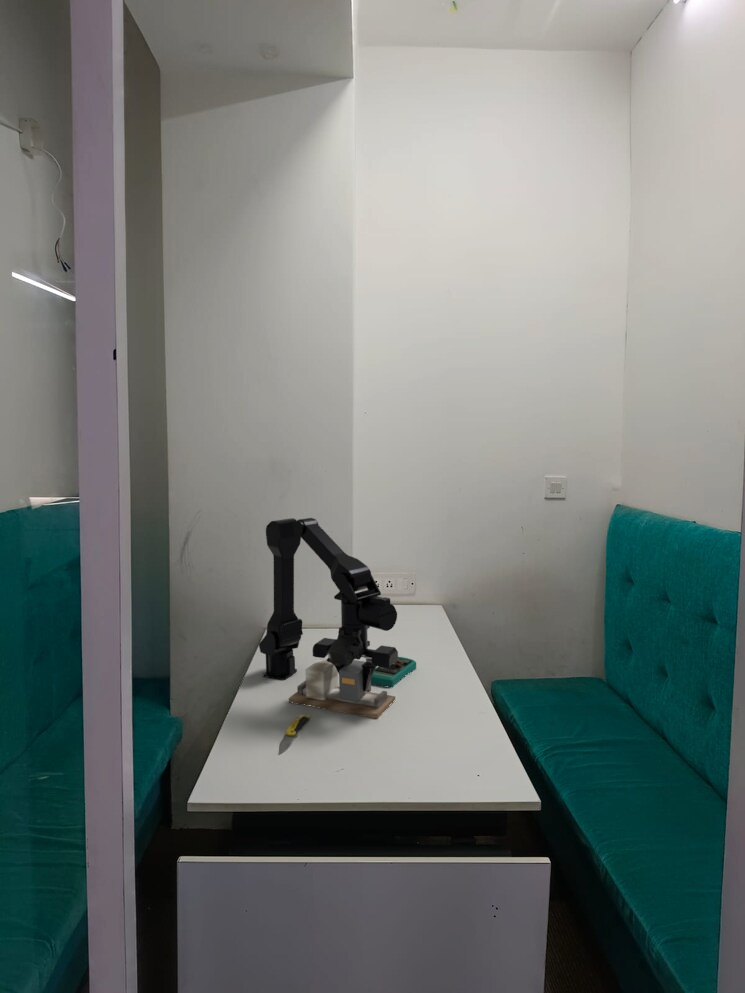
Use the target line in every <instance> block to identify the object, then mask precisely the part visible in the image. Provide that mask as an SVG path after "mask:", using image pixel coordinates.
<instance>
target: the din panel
mask: <svg viewBox="0 0 745 993" xmlns="http://www.w3.org/2000/svg"><path fill="white" fill-rule="evenodd" d="M296 690H297V691H296V692H295V693H294V694H292V695H291V696H289V697H288V703H289V702H293V703H292V704H294V703H298V704H297V705H300V704H305V705H311V706H315V707H314V708H316V707H320V708H319V709H322V708H325V709H324V710H327V709H329V710H330V711H333V710H334V711H333V712H338V711H339V713H344V712H345V714H349V713H350V715H355V714H357V715H356V716H361V717H366V718H371V717H372V718H373V719H377V720H378V719H379V718H380V717H381V716H382V715H383V714H384V713H385V712H386V711H387V710H386V709H387V708H390V706H391V705H392V704H393V703H394V702H395V701H396V696H395V695H390V694H388V691H386V690H382V691H381V692H380V693H377V692H373V691H372V692H371V691H370V692H365V693H364V694H363V695H362V696H361V697H360V701H359V702H353V701H347V700H341V699H340V695H339V673H338V671H337V669H336V667H335V666H334V665H333V664H332V663H330V662H328V661H327V659H325V658H320V659H318V660H316V661H315V662H313V664H311V665H310V666H308V667H306V668H305V680H304V681H303V682H301V683H300V684H299V685H297V689H296ZM394 700H395V701H394ZM393 701H394V702H393ZM392 702H393V703H392ZM391 703H392V704H391ZM390 704H391V705H390ZM305 705H304V706H305ZM389 705H390V706H389ZM311 706H310V707H311ZM329 710H328V711H329ZM385 710H386V711H385ZM384 711H385V712H384ZM383 712H384V713H383ZM382 713H383V714H382ZM372 718H371V719H372Z"/></svg>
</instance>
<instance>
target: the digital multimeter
mask: <svg viewBox="0 0 745 993" xmlns="http://www.w3.org/2000/svg"><path fill="white" fill-rule="evenodd" d="M416 669H417V661H415V660H414V659H412V658H408V657H404V656H398V660H396V661H395V662H394V663H393V664H392V665H391V666H390V667H380V666H377V667H376V669H375V671H374V673H373V675H372V678H371V685H374V684H376V685H375V686H379V685H382V686H381V687H384V686H388V687H387V688H391V687H392V688H393V687H395V686H396V685H397V684H398V683H399V682H400V681H401V680H400V679H402V678H403V677H404V676H405V675H407V674H408V673H409V674H411V673H412V672H414V671H415V670H416ZM413 670H414V671H413ZM410 672H411V673H410ZM409 674H408V675H409ZM408 675H407V676H408ZM405 677H406V676H405ZM405 677H404V678H405ZM404 678H403V679H404ZM403 679H402V680H403ZM399 680H400V681H399ZM398 681H399V682H398ZM397 682H398V683H397ZM396 683H397V684H396ZM395 684H396V685H395ZM394 685H395V686H394Z"/></svg>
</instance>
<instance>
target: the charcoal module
mask: <svg viewBox="0 0 745 993" xmlns="http://www.w3.org/2000/svg"><path fill="white" fill-rule="evenodd" d="M365 662H366V661H365V660H364V661H363V660H358V659H354V660H353V662H352V663H351V664H350V665H345V666H344V667H343V668H341V669H340V670H339V673H338V687H339V695H340V699H341V700H347V701H353V702H359V701H360V697H361V696H362V695H363V694H364V693H365V692H371V691H372V684H371V681H370V683H369V686H368V688H367V690H366V691H364V690H363V668H362V666H361V665H363V664H364V663H365Z"/></svg>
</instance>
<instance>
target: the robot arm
mask: <svg viewBox="0 0 745 993" xmlns="http://www.w3.org/2000/svg"><path fill="white" fill-rule="evenodd" d="M265 538H266V544H267V547H268V549H269V550H270V552H271V554H272V555H273V556H272V557H273V612H272V614H271V616H270V618H269V620H268V622H267V624H266V625H267V626H266V632H265V633H266V634H265V635H264V637H263V638H262V639H261V640H260V642H259V644H258V647H259V651H260V653H261V654H264V655H265V670H266V672H263V673H262V676H263V675H264V676H263V677H265V676H268V677H267V678H271V677H273V679H277V678H278V680H283V679H284V680H286V679H288V678H289V677H291V676H293V674H295V673H296V672H298V670H297V668H296V657H295V656H294V650H295V649H298V648H299V644H300V641H301V639H302V636H303V634H304V633H303V620H302V619H301V618H299V617H298V616H297V615H296V613H295V602H294V601H295V574H294V573H295V555H296V552H297V551H298V549H299V547H300V545H301V540H303V542H305V544H307V546H308V547H309V548H310V549H311V550H312V551H313V553H315V554H316V556H317V557H318V558H319V559H320V560H321V561H322V562H323V563H324V565H326V566H327V568H328V569H329V571H330V578H331V581H332V582H333V584H335V587H336V588H337V589H338V591H339V592H337V593H336V594H335V595H334V600H338V601H341V602H340V610H341V611H340V612H341V613H340V615H341V619H340V620H341V626H340V627H339V628H338V631H337V632H338V636H337V638H329V637H323V638H322V639H321V640H319V641H317V642H316V643H315V644H314V645H313V647H312V657H314V658H320V659H325V658H326V660H327V661H328V662H330V663H332V664H333V665H334V666H335V667H336V669H337V671H338V674H339V670H340V669H341V668H343V667H344V666H345V665H350V664H351V663H352V662H353V660H360V659H361V658H365V661H364V662H365V663H364V664H363V665H361V666H362V668H363V690H364V691H366V690H367V688H368V686H369V683H370V681H371V678H372V675H373V673H374V671H375V669H376V668H377V667H378V666H380V667H390V666H391V665H392V664H393V663H394V662H395V661H396V660H398V657H399V652H398V650H397V649H396V647H395V646H388V645H380V646H379V647H377V648H376V649H371V648H368V647H370V645H371V644H370V643H371V641H370V640H368V630H369V629H370V627H371V628H375V629H377V630H382V631H384V632H385V631H388V632H389V631H390V630H392V628H394V626H395V625H396V622H397V620H398V619H397V618H398V611H397V609H396V606H395V605H394V604H392V603H391V598H390V597H387V596H385V597H383V596H381V595H382V593H381V590H380V589H379V585H377V583H376V581H375V578H374V576H373V575H372V571H371V570H370V568H369V567H368V565H367V564H366V563H364V562H362V560H360V559H358V558H356V557H353V556H350V555H349V554H347V553H346V552H345V551H344V550H343V549H342V547H340V546H339V545H338V544H337V543H336V542H335V541H334V540H333V539H332V538H331V537H330V535H328V533H327V532H326V531H325V530H324V529H323V528H322V527H321V526H320V525H319V522H318V521H317V519H316V518H313V517H307V518H300V519H296V518H294V517H293V518H292V517H291V518H286V519H285V518H284V519H283V518H282V519H278V520H277V519H275V520H272V521H269V523H268V524H267V525H266V527H265ZM365 589H367V590H365ZM327 657H328V658H327Z"/></svg>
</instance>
